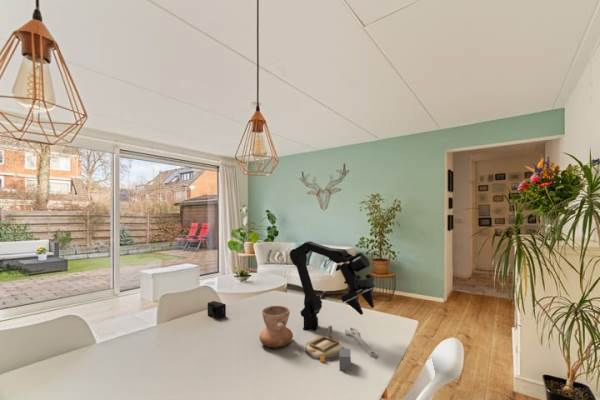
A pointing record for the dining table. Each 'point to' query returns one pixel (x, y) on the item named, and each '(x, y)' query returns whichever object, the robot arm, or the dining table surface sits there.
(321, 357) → the turntable base
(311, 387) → the dining table surface
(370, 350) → the adjustable wrench
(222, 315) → the digital camera
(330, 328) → the index disc
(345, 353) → the link block
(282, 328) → the ceramic jug
